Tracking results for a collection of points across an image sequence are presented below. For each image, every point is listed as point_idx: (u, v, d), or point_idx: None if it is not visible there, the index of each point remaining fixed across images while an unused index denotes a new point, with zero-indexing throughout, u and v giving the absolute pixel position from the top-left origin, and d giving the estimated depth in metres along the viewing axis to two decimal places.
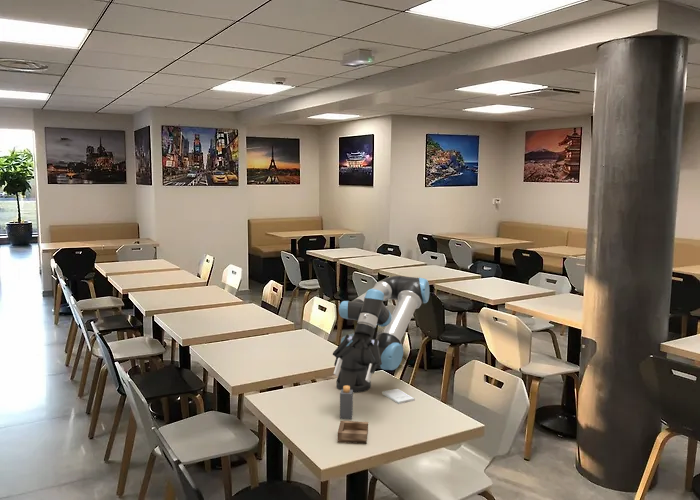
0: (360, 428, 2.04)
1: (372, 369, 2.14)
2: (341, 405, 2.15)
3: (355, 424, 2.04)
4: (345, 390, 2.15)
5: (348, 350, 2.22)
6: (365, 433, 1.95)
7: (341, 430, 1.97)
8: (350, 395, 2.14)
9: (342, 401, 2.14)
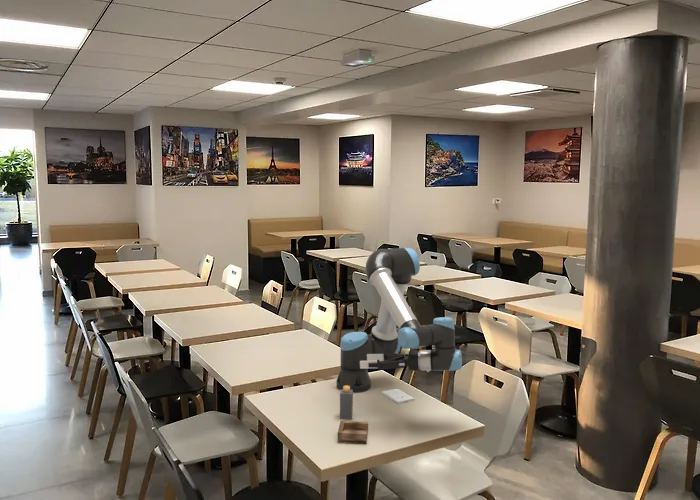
0: (360, 428, 2.04)
1: None
2: (341, 405, 2.15)
3: (355, 424, 2.04)
4: (345, 390, 2.15)
5: None
6: (365, 433, 1.95)
7: (341, 430, 1.97)
8: (350, 395, 2.14)
9: (342, 401, 2.14)
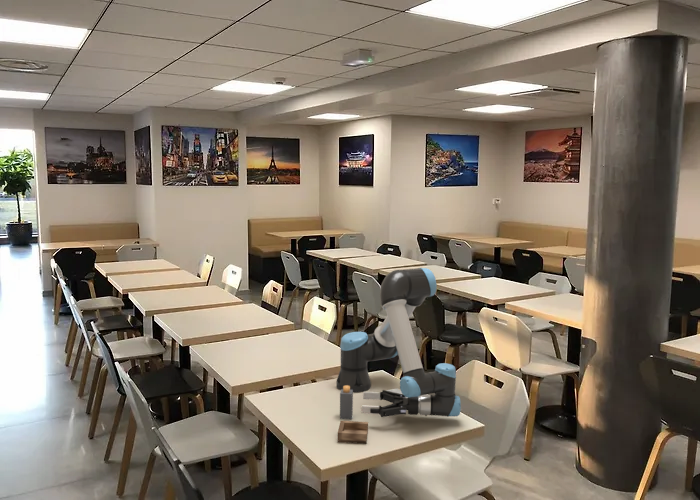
0: (360, 428, 2.04)
1: None
2: (341, 405, 2.15)
3: (355, 424, 2.04)
4: (345, 390, 2.15)
5: None
6: (365, 433, 1.95)
7: (341, 430, 1.97)
8: (350, 395, 2.14)
9: (342, 401, 2.14)
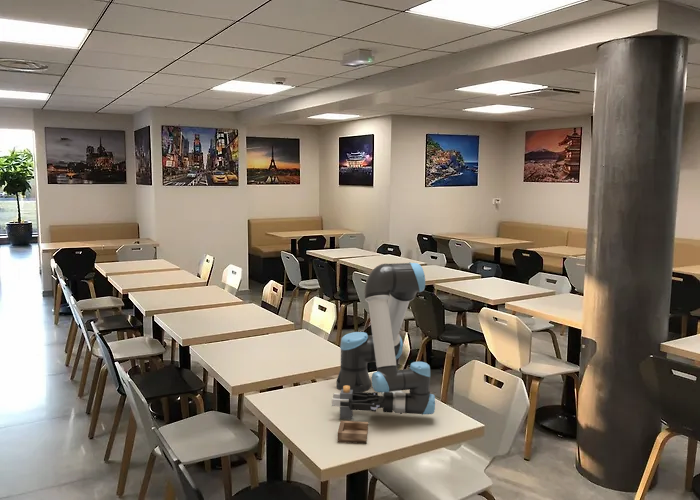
0: (360, 428, 2.04)
1: None
2: None
3: (355, 424, 2.04)
4: (345, 390, 2.15)
5: None
6: (365, 433, 1.95)
7: (341, 430, 1.97)
8: (350, 395, 2.14)
9: None
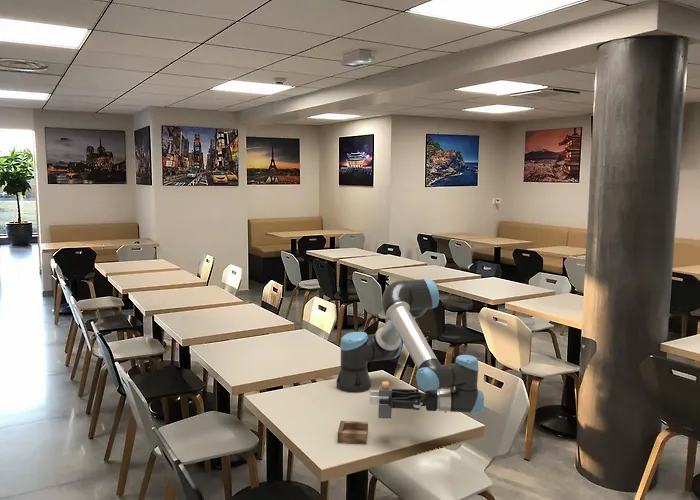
0: (360, 428, 2.04)
1: None
2: None
3: (355, 424, 2.04)
4: (384, 386, 1.96)
5: None
6: (365, 433, 1.95)
7: (341, 430, 1.97)
8: (390, 392, 1.95)
9: None
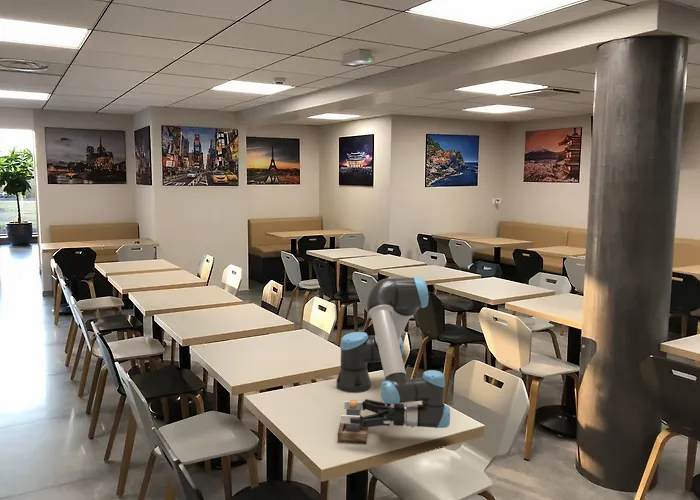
0: (360, 428, 2.04)
1: None
2: None
3: None
4: (352, 405, 1.98)
5: None
6: (365, 433, 1.95)
7: (341, 430, 1.97)
8: (357, 411, 1.97)
9: None
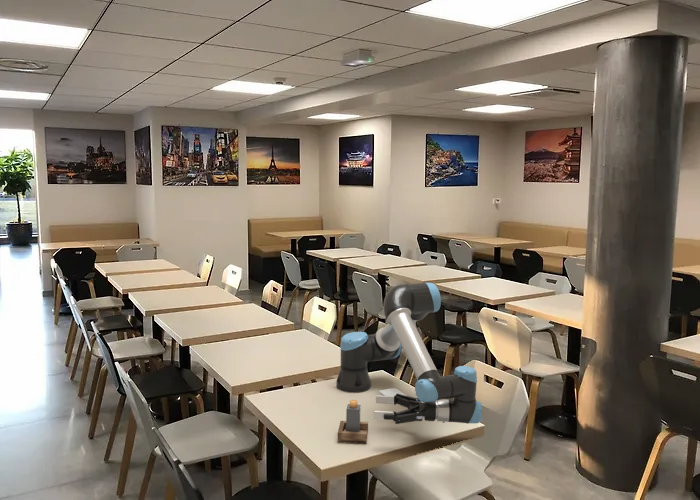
0: (360, 428, 2.04)
1: None
2: (348, 421, 1.98)
3: None
4: (352, 405, 1.98)
5: None
6: (365, 433, 1.95)
7: (341, 430, 1.97)
8: (357, 411, 1.97)
9: (349, 417, 1.97)
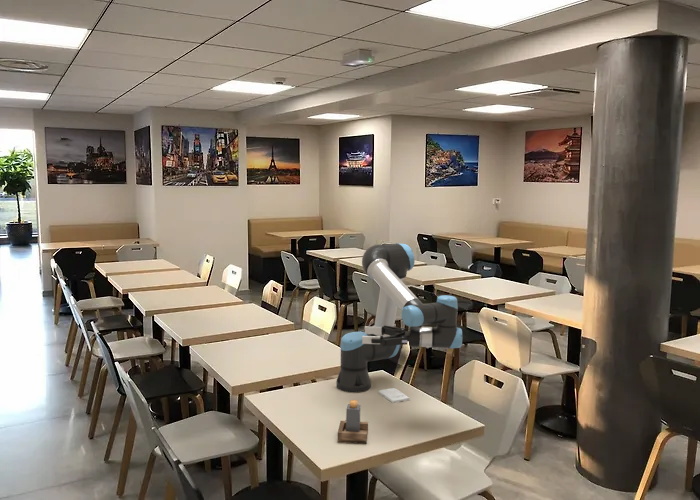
0: (360, 428, 2.04)
1: None
2: (348, 421, 1.98)
3: None
4: (352, 405, 1.98)
5: None
6: (365, 433, 1.95)
7: (341, 430, 1.97)
8: (357, 411, 1.97)
9: (349, 417, 1.97)
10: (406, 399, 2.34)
